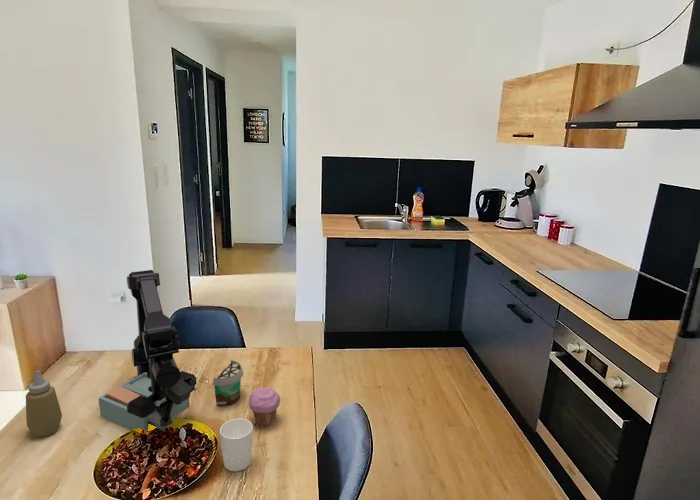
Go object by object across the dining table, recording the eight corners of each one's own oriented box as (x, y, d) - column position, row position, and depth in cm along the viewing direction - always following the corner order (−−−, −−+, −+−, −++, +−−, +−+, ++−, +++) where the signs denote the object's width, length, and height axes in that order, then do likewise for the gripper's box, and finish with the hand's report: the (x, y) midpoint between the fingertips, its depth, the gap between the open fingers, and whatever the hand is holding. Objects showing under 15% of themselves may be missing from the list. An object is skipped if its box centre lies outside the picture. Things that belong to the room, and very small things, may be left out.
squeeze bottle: (70, 425, 126) (62, 367, 121) (43, 443, 118) (33, 382, 114) (49, 418, 128) (40, 361, 123) (21, 436, 121) (10, 375, 116)
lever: (115, 408, 129) (115, 402, 129) (127, 400, 133) (127, 395, 132) (164, 431, 122) (164, 426, 121) (175, 423, 125) (175, 417, 125)
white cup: (224, 451, 118) (223, 418, 115) (255, 451, 119) (254, 417, 116) (218, 474, 110) (216, 439, 108) (251, 473, 111) (250, 438, 108)
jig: (100, 416, 130) (98, 397, 128) (146, 389, 144) (145, 372, 142) (145, 436, 123) (143, 416, 121) (189, 405, 136) (188, 387, 135)
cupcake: (270, 433, 126) (269, 402, 123) (243, 425, 128) (242, 394, 126) (285, 415, 134) (285, 385, 131) (259, 408, 136) (259, 379, 134)
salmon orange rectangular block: (107, 401, 130) (106, 393, 129) (120, 393, 134) (120, 386, 133) (131, 413, 126) (131, 405, 125) (145, 404, 130) (144, 397, 129)
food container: (233, 412, 134) (232, 382, 132) (214, 409, 135) (212, 379, 133) (250, 389, 146) (249, 361, 143) (232, 386, 147) (231, 359, 144)
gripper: (155, 394, 108) (159, 450, 112) (210, 361, 124) (212, 410, 128) (122, 382, 113) (128, 436, 117) (180, 351, 129) (183, 400, 133)
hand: (165, 420), depth 124 cm, fingers closed, pressing on lever
